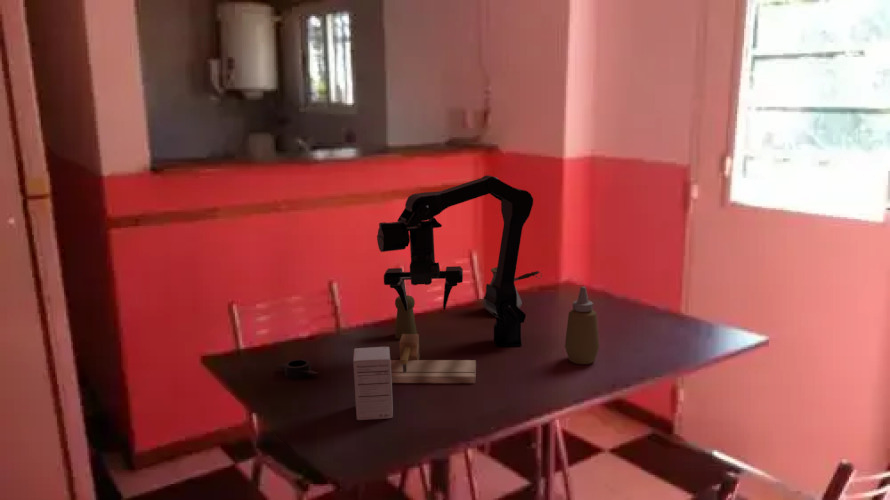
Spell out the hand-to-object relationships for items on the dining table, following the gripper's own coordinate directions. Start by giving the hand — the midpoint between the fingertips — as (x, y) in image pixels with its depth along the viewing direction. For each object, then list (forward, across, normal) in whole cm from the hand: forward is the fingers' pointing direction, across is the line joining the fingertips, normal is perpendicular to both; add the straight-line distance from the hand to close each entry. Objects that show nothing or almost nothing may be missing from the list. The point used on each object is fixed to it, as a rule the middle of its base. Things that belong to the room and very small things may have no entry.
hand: (425, 309), depth 176 cm
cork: (+12, -7, +14) cm, 19 cm away
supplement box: (+11, -8, -33) cm, 36 cm away
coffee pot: (+12, +22, +32) cm, 41 cm away
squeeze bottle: (+12, +37, -4) cm, 39 cm away
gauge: (+11, -4, -9) cm, 15 cm away
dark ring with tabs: (+11, -29, -13) cm, 34 cm away
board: (+11, +1, -13) cm, 17 cm away
